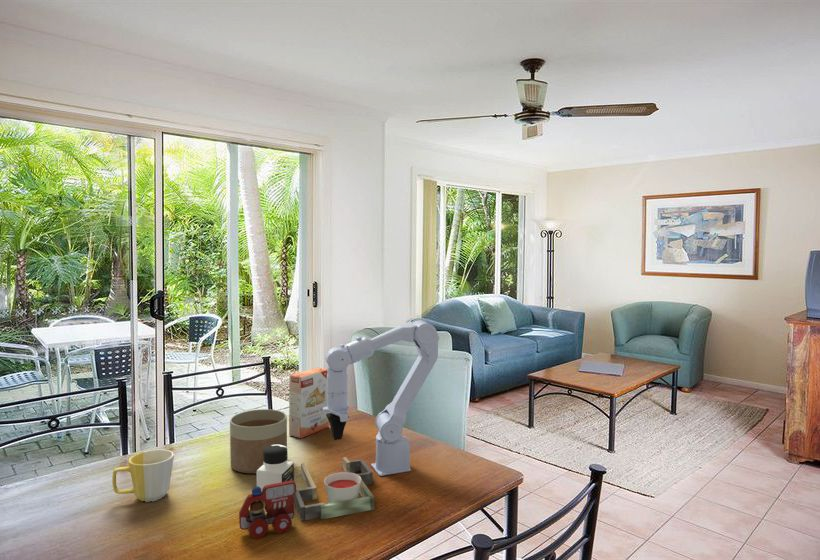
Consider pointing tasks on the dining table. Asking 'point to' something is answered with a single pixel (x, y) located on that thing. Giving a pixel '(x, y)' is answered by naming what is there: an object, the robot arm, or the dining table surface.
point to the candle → (342, 486)
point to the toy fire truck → (268, 509)
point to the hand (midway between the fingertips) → (337, 439)
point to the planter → (255, 437)
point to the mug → (148, 474)
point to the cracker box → (307, 402)
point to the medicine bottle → (275, 466)
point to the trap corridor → (338, 507)
